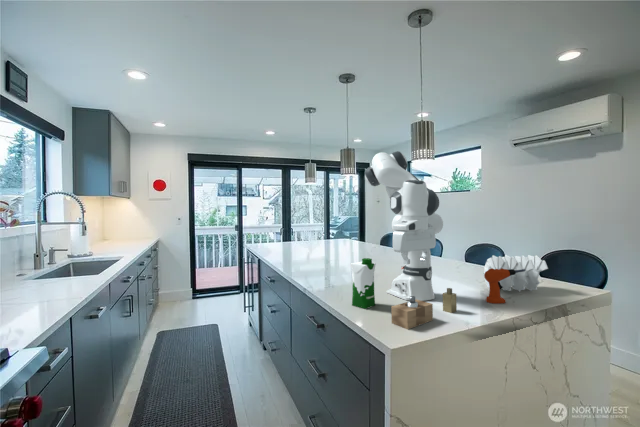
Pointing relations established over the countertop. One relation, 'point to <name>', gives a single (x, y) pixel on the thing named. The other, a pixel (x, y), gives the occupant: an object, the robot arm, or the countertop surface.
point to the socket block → (412, 314)
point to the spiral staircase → (521, 278)
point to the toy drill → (497, 283)
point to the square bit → (449, 301)
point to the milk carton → (363, 283)
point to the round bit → (412, 302)
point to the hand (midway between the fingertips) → (415, 262)
